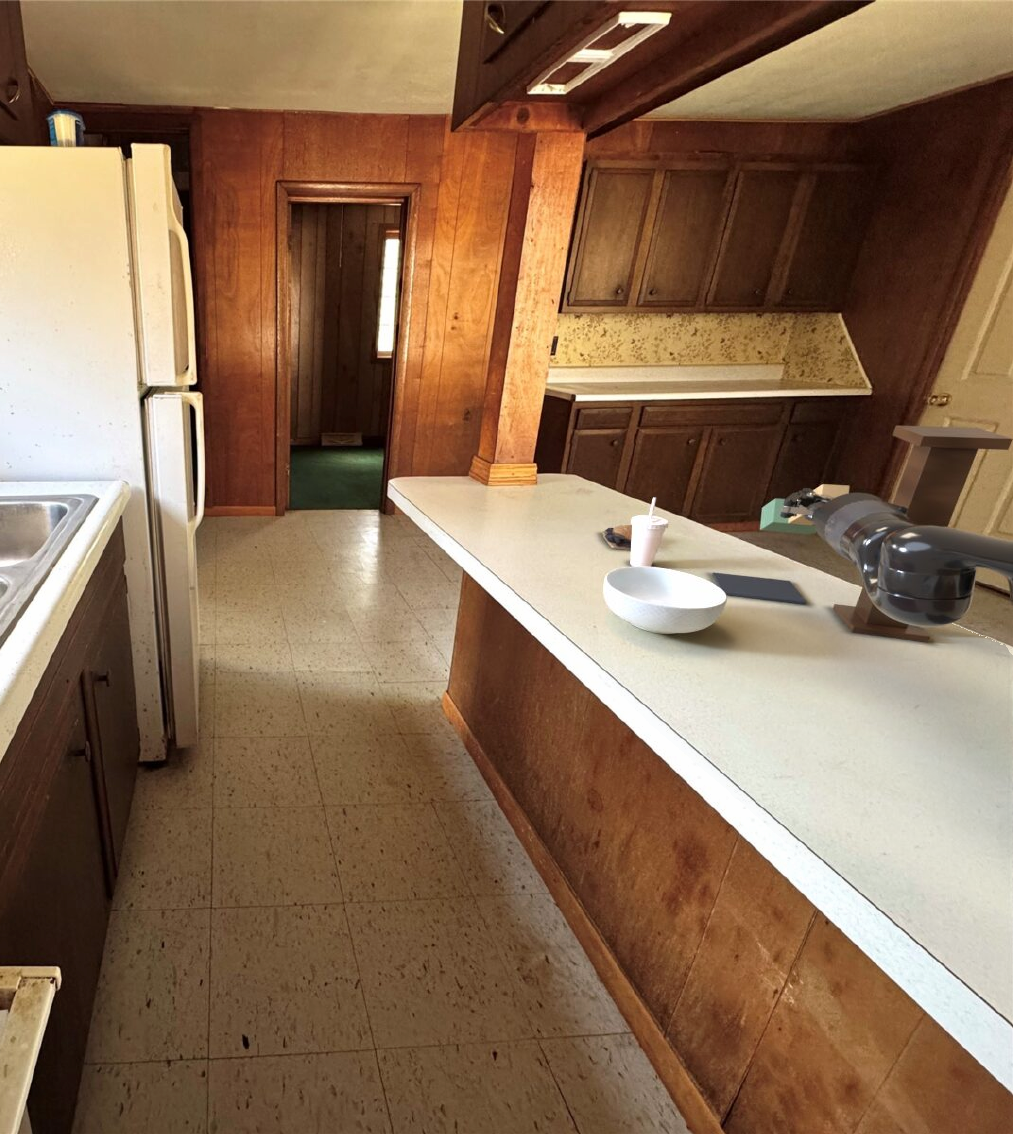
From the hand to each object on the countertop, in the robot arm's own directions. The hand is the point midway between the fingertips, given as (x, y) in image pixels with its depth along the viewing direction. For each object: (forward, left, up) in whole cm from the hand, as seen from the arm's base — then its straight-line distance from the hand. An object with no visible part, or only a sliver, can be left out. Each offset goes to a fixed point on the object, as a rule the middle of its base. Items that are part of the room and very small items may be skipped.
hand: (819, 495), depth 93 cm
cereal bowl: (+18, +6, -22) cm, 29 cm away
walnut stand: (-14, -6, -22) cm, 27 cm away
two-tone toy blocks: (0, -2, -4) cm, 5 cm away
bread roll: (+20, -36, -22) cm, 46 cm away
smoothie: (+18, -22, -22) cm, 36 cm away
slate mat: (0, -16, -22) cm, 27 cm away
